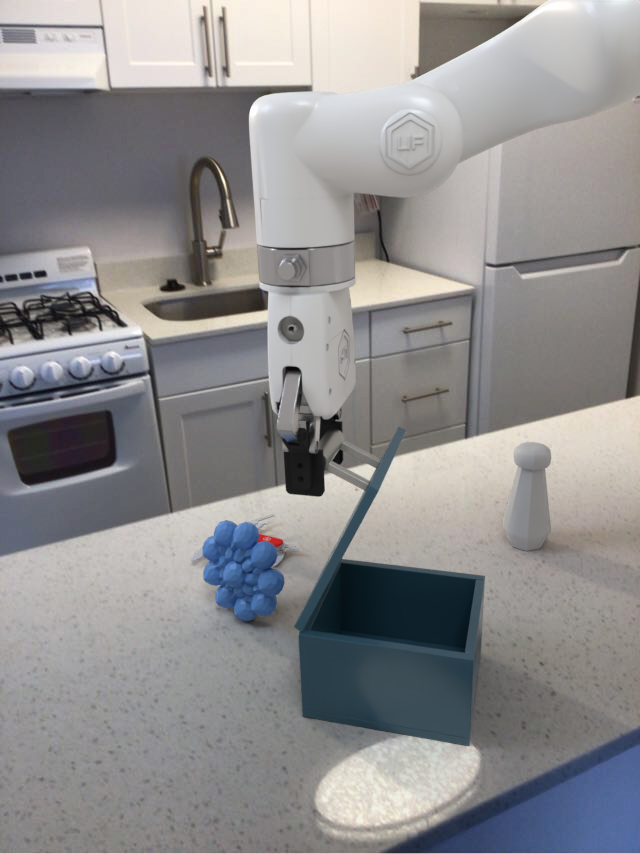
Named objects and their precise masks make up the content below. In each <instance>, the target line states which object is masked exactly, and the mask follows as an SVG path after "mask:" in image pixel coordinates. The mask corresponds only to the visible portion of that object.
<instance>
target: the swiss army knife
mask: <svg viewBox="0 0 640 854" xmlns="http://www.w3.org/2000/svg"><path fill="white" fill-rule="evenodd" d="M274 517H275V514H274V513H272V514H269V515H266V516H265V515H264V516H262V517H259V518H256V519H253V520H250V521H249V520H248V521H247V522H248V523H252V524H253V525H255V526H256V527H257V528H258V530H261V529H262V528H263V527H265V526H267V525H268V524H267V523H266V522H262V521H265V520H268V519H271V518H274ZM236 525H237V526H238V525H239V524H236ZM262 541H266V542H270V543H271V544H273V545H274V546H275V547H276V549H277V560H276V563H275V564H274V565H273V566H272V567H271V568H274V567H276V566H278V565H279V564H280V563H282V561H283V560H284V558H285V555H286V552H285V549H289V550H291V551H293V552H294V551H295V552H300V551H301V548H300V547H299V546H297V545H293V544H290V543H285V542H284V539H282V538H279V537H275V536H271V535H267V534H261V533H259V540H258V543H259V542H262ZM202 547H203V546H201V547H200V548H198V550H196V551H195V552H194V553H193V554H192V556H191V558H190V559H191V562H194V561H198V560H199V559H201V558H202V557H204V556H203V554H202Z"/></svg>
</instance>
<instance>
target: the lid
mask: <svg viewBox="0 0 640 854" xmlns="http://www.w3.org/2000/svg"><path fill="white" fill-rule="evenodd" d="M406 432H407V430H406V429H405V428H403V427H401V426H398V427H397V428H396V430H395V432H394V434H393V436H392V437H391V440H390V442H389V443H388V445H387V447H386V449H385V451H384V453H383V455H382V457H381V458H379V457H378V456H376V455H374V454H372V453H370V452H368V451H366V450H364V449H362V447H361V448H360V447H359V446H357V445H355V444H353V443H351V442H349V441H347V440H345V435H344V432H343V433H342V432H341V431H340V430H338V429H329V430H328V431H327V432H326V433H325V434H324V436H323V437H322V439H321V440H320V441H319V449H321V450H323V457H324V472H325V471H327V472H328V473H330V474H332V475H334V476H336V477H338V478H340V479H342V480H343V481H345V482H347V483H349V484H351V485H353V486H355V487H357V488H359V489H361V490H363V492H362V494H361V496H360V498H359V499H358V502H357V503H356V505H355V507H354V509H353V511H352V513H351V515H350V517H349V518H348V520H347V521H346V524H345V526H344V528H343V529H342V531H341V533H340V535H339V538H338V539H337V541H336V543H335V544H334V547H333V548H332V550H331V552H330V554H329V556H328V557H327V560H326V562H325V565H324V567H323V568H322V570H321V572H320V574H319V576H318V578H317V580H316V582H315V584H314V586H313V588H312V590H311V592H310V594H309V596H308V598H307V600H306V601H305V604H304V606H303V608H302V610H301V612H300V614H299V616H298V617H297V619H296V621H295V624H294V627H293V628H294V629H296V630H299V632H300V631H303V629H304V627H305V626H306V624H307V622H308V620H309V618H310V616H311V615H312V613H313V611H314V609H315V607H316V605H317V603H318V602H319V600H320V598H321V596H322V594H323V592H324V591H325V589H326V587H327V585H328V583H329V581H330V580H331V578H332V576H333V574H334V572H335V570H336V568H337V567H338V565H339V563H340V561H341V559H343V558H344V556H345V554H346V552H347V550H348V549H349V546H350V545H351V543H352V541H353V539H354V537H355V536H356V534H357V532H358V530H359V528H360V526H361V525H362V523H363V521H364V519H365V517H366V515H367V513H368V511H369V509H370V507H371V506H372V505H373V502H374V500H375V499H376V497H377V494H378V493H379V491H380V489H381V487H382V484H383V483H384V480H385V479H386V476H387V474H388V471H389V470H390V467H391V465H392V463H393V460H394V458H395V456H396V455H397V452H398V450H399V447H400V445H401V443H402V441H403V439H404V436H405V434H406ZM339 449H340V450H342V451H343V453H346V454H348V455H349V456H352V457H354V458H355V459H357V460H359V461H362V462H363V463H365V464H367V465H369V466H371V467H373V468H375V470H374V471H373V473H372V475H371V477H370V478H369V479H367V478H366V477H363V476H361V475H359V474H358V473H356V472H354V471H352V470H350V469H348V468H346V467H344V466H343V465H342V464H340V465H339V464H337V463H335V462H333V461H332V460H333V459H334V457H335V456H336V454H337V452H338V451H339Z"/></svg>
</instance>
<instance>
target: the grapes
mask: <svg viewBox="0 0 640 854" xmlns="http://www.w3.org/2000/svg"><path fill="white" fill-rule="evenodd" d="M248 522H249V521H244V522H241V523H239V524H236V523H235V522H234V521H232V520H226V519H225V520H222V521H219V523H218V524H217V525H216V526H215V527H214V531H213V535H211V536H208V537H207V538H206V539H205V540H204V542H203V544H202V546H201V547H202V554H203V556H202V557H203V558H204V559H206V560H207V561H208V562H207V563H206V564H205V565H204V568H203V572H202V577H203V581H204V582H205V583H207V584H208V585H210V586H214V587H217V589H216V591H215V599H214V600H215V603H216V604H217V605H218V606H219V607H221V608H222V609H226V610H229V609H233V612H234V616H235V617H236V618H238V619H239V620H241V621H244V622H249V621H253V620H254V619H255V618H256V617H257V616H258V617H263V618H265V617H268V616H271V615H272V614H273V613H274V612H275V611H276V608H277V604H278V600H277V599H278V598H277V596H278V595H279V594H280V593H282V591H283V589H284V586H285V576H284V574H283V573H282V572H281V571H280V570H279V569H277V568H274V567H272V566H273V565H274V564H275V563H276V560H277V549H276V547H275V546H274V545H273V544H271V543H270V542H266V541H262V542H259V543H258V540H259V534H260V531H259V530H258V528H257V527H256V526H255V525H253V524H252V523H248ZM237 525H238V526H237ZM218 586H219V587H218Z"/></svg>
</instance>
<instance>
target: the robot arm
mask: <svg viewBox="0 0 640 854" xmlns="http://www.w3.org/2000/svg"><path fill="white" fill-rule="evenodd" d="M639 96H640V0H546V1H544V3H542V4H541V5H539V6H538V7H536V8H535V9H534V10H532V11H531V12H530V13H528V14H527V15H526V16H524V17H523V18H522V19H520V20H519V21H517V22H516V23H514V24H513V25H511V26H509V27H507V29H505V30H503V31H501V32H500V33H498V34H496V35H495V36H493V37H491V38H490V39H488V40H486V41H484V42H483V43H481V44H479V45H477V46H475V47H474V48H472V49H469V50H468V51H466V52H464V53H463V54H461V55H459V56H457V57H455V58H453V59H451V60H448V61H446V62H445V63H443V64H441V65H439V66H437V67H435V68H433V69H431V70H429V71H428V72H426V73H424V74H422V75H420V76H418V77H416V78H414V79H411V80H410V81H408V82H402V83H396V84H391V85H386V86H381V87H376V88H371V89H366V90H360V91H352V92H347V93H346V92H345V93H336V92H330V91H320V90H319V91H317V90H316V91H291V92H290V91H289V92H276V93H270V94H265V95H263V96H259V97H258V98H257V99H255V101H253V103H252V105H251V107H250V110H249V114H248V135H249V146H250V147H249V148H250V163H251V164H250V165H251V178H252V192H253V193H252V194H253V204H254V205H253V207H254V222H255V238H256V254H257V268H258V283H259V284H258V286H259V289H260V290H262V291H264V292H267V293H268V295H267V369H268V372H267V373H268V386H269V387H268V388H269V398H270V405H271V410H272V411H273V413H274V414H275V415H276V416H277V421H276V431H277V433H278V434H279V436H280V438H281V440H282V441H281V450H282V452H283V462H284V463H283V464H284V465H283V466H284V481H285V484H284V485H285V492H286V493H287V494H289V495H295V496H307V497H315V498H316V497H317V498H319V497H323V495H324V494H325V491H326V488H325V487H326V486H325V484H326V483H325V471H324V457H323V450H321V449H319V441H320V440H321V439H322V437H323V436H324V434H325V433H326V432H327V431H328V430H329V429H338V430H340V431H341V432H342V433H343V434H344V432H343V431H344V430H343V429H344V428H343V420H342V416H343V405H344V403H345V402H346V401H347V399H348V398H349V397H350V395H351V394H352V392H353V390H354V389H355V386H356V382H357V366H356V365H357V364H356V363H357V362H356V348H355V347H356V346H355V335H354V334H355V333H354V322H353V321H354V320H353V319H354V318H353V310H352V309H353V308H352V299H351V298H352V297H351V292H350V288H351V287H354V285H356V243H355V240H356V239H355V236H356V235H355V194H362V195H371V196H372V195H373V196H382V197H390V198H400V199H401V198H403V199H405V198H415V197H420V196H423V195H426V194H429V193H431V192H433V191H434V190H436V189H438V188H439V187H441V186H442V185H443V184H444V183H445V182H446V181H448V179H449V178H450V177H451V176H452V175H453V174H454V172H455V170H456V169H457V166H458V165H459V164H461V163H464V162H465V161H467V160H470V159H471V158H474V157H475V156H478V155H479V154H482V153H484V152H486V151H487V150H490V149H493V148H495V147H496V146H499V145H501V144H504V143H506V142H509V141H512V140H513V139H516V138H518V137H521V136H523V135H526V134H528V133H531V132H534V131H536V130H537V131H538V130H540V129H544V128H547V127H550V126H554V125H555V126H556V125H559V124H564V123H567V122H573V121H576V120H580V119H584V118H588V117H592V116H594V115H597V114H599V113H602V112H604V111H607V110H610V109H613V108H615V107H618V106H621V105H623V104H625V103H627V102H629V101H631V100H633V99H635V98H637V97H639ZM301 407H307V411H308V412H300V410H301ZM341 420H342V421H341ZM300 421H301V422H305V427H301V423H300ZM332 461H333V462H335V463H337V464H339V465H342V463H343V462H344V451H342V450H340V449H339V451H338V452H337V454H336V456H335V457H334V459H333V460H332Z"/></svg>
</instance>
